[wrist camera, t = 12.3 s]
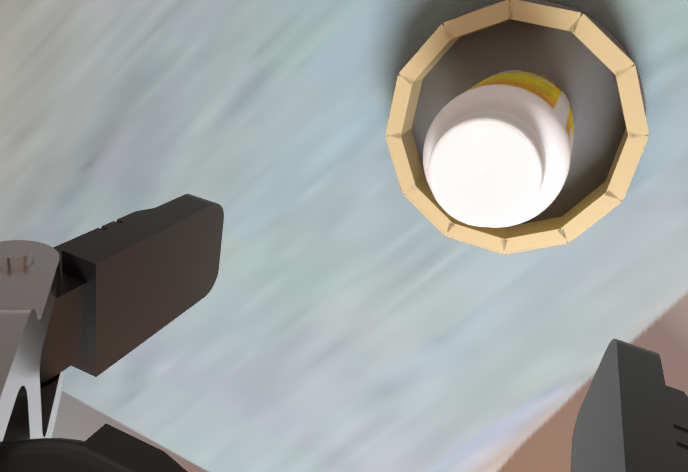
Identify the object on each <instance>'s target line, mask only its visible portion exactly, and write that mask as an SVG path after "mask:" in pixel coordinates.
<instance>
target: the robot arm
mask: <svg viewBox="0 0 688 472" xmlns="http://www.w3.org/2000/svg"><path fill="white" fill-rule="evenodd" d="M223 220H224V213H223V209H222V207H221V205H219V204H217V203H214V202H211V201H208V200H205V199H202V198H199V197H196V196H193V195H190V194H185V195H183V196H181V197H178V198H176V199H174V200H172V201H170V202H167V203H165V204H163V205H161V206H158V207H156V208H152V209H147V210H141V211H136V212H133V213H131V214H129V215H126V216H124V217H122V218H120V219H117V222H114V221H113V222H111V223H108V224H106V225H104V226H102V228H101V229H100V228H97V229H95V230H92V231H90V232H88V233H86V234H83V235H81V236H79V237H76V238H74V239H72V240H70V241H67V242H65V243H63V244H61V245H58V246H56V247H54V248H53V247H51V246H49V245H46V244H44V243H40V242H35V241H27V240H11V241H2V242H0V472H187V471H186V470H185V469H183V468H182V467H181V466H180V465H179V464H178V463H177V462H176V461H174V460H173V459H172V458H171V457H170V456H169V455H167V454H166V453H165V452H164V451H162V450H160V449H158V448H155V447H154V446H151V445H149V444H147V443H145V442H143V441H141V440H139V439H137V438H135V437H133V436H131V435H129V434H127V433H125V432H122V431H120V430H118V429H116V428H114V427H112V426H110V425H108V424H105V425H104V426H103V427H101V428H100V429H99V430H98V431H97V432H95V433H94V434H93V435H92V436H91V437H90V438H88V439H87V440H86V441H81V440H73V439H63V438H52V434H53V429H54V425H55V420H56V415H57V411H58V406H59V401H60V397H61V393H62V388H63V370H65V369H66V368H68V367H69V366H73V367H76V368H78V369H80V370H82V371H84V372H86V373H89V374H91V375H93V376H95V377H97V376H98V375H99V374H101V373H102V372H103V371H105V370H106V369H108V368H109V367H110V366H112V365H113V364H114V363H116V362H117V361H118V360H120V359H121V358H122V357H124V356H125V355H127V354H128V353H129V352H131V351H132V350H133V349H135V348H136V347H137V346H139V345H140V344H141V343H143V342H144V341H146V340H147V339H148V338H150V337H151V336H152V335H154V334H155V333H156V332H158V331H159V330H160V329H162V328H163V327H164V326H166V325H167V324H169V323H170V322H171V321H173V320H174V319H175V318H177V317H178V316H179V315H181V314H182V313H183V312H185V311H186V310H188V309H189V308H190V307H192V306H193V305H194V304H196V303H197V302H198V301H200V300H201V299H202V298H204V297H205V296H206V295H207V294H208V293H209V292H210V290H211V289H212V287H213V285H214V283H215V281H216V278H217V275H218V270H219V260H220V250H221V240H222V230H223ZM571 472H688V397H687V395H686V394H685V393H684V392H683V391H680V390H677V389H674V388H671V387H668V386H666V385H665V380H664V375H663V370H662V365H661V359H660V356H659V354H658V353H656V352H653V351H650V350H647V349H644V348H641V347H638V346H635V345H632V344H629V343H626V342H623V341H620V340H617V339H613V340H612V341H611V342H610V344H609V345H608V347H607V349H606V351H605V354H604V356H603V358H602V361H601V363H600V365H599V367H598V370H597V372H596V374H595V376H594V379H593V381H592V383H591V386H590V388H589V390H588V392H587V395H586V397H585V399H584V401H583V404H582V406H581V409H580V411H579V414H578V417H577V420H576V424H575V428H574V432H573V438H572V454H571Z"/></svg>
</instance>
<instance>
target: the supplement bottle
mask: <svg viewBox="0 0 688 472" xmlns="http://www.w3.org/2000/svg"><path fill="white" fill-rule="evenodd" d="M573 138H574V115H573V110H572V108H571V105H570V102H569V100H568V98H567V97H566V95H565V93H564V92H563V91H562V90H561V89H560V87H559V86H558V85H556V84H555V83H554V82H553V81H551V80H550V79H548V78H547V77H545V76H543V75H540V74H538V73H535V72H532V71H527V70H510V71H504V72H500V73H497V74H495V75H492V76H490V77H488V78H486V79H485V80H483V81H481V82H480V83H478V84H476V85H475V86H473V87H471V88H470V89H468V90H467V91H465V92H463V93H462V94H460V95H458V96H457V97H455V98H454V99H453V100H451V101H450V102H449V103H448V104H447V105H446V106H445V107H444V108H443V109H442V110H441V111H440V112H439V113H438V114H437V116H436V117H435V119H434V120H433V122H432V124H431V126H430V128H429V130H428V132H427V135H426V138H425V142H424V148H423V167H424V172H425V176H426V179H427V182H428V184H429V186H430V189H431V191H432V193H433V195H434V197H435V199H436V201H437V202H438V203H439V205H440V206H441V207H442V208H443V209H444V210H445V211H446V212H447V213H448V214H449V215H451V216H452V217H454V218H455V219H457V220H459V221H461V222H463V223H466V224H468V225H473V226H478V227H491V228H499V227H508V226H513V225H517V224H520V223H523V222H526V221H528V220H530V219H532V218H534V217H535V216H537V215H538V214H540V213H541V212H542V211H544V210H545V209H546V208H547V207H548V206H549V205H550V204H551V203H552V202H553V201H554V200H555V198H556V197H557V195H558V194H559V192H560V191H561V189H562V187H563V185H564V183H565V180H566V178H567V175H568V171H569V167H570V161H571V153H572V146H573Z"/></svg>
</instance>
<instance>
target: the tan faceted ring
mask: <svg viewBox="0 0 688 472" xmlns="http://www.w3.org/2000/svg"><path fill="white" fill-rule="evenodd" d="M510 70H527V71H532V72H535V73H538V74H540V75H543V76H545V77H547V78H548V79H550V80H551V81H553V82H554V83H555V84H556V85H558V86H559V87H560V89H561V90H562V91H563V92H564V93H565V95H566V97H567V98H568V100H569V102H570V105H571V108H572V110H573V115H574V138H573V146H572V153H571V161H570V167H569V171H568V175H567V178H566V180H565V183H564V185H563V187H562V189H561V191H560V192H559V194H558V195H557V197H556V198H555V200H554V201H553V202H552V203H551V204H550V205H549V206H548V207H547V208H546V209H545V210H544V211H542V212H541V213H540V214H538V215H537V216H535V217H534V218H532V219H530V220H528V221H526V222H523V223H520V224H517V225H513V226H508V227H499V228H491V227H478V226H473V225H468V224H466V223H463V222H461V221H459V220H457V219H455V218H454V217H452V216H451V215H449V214H448V213H447V212H446V211H445V210H444V209H443V208H442V207H441V206H440V205H439V203H438V202H437V201H436V199H435V197H434V195H433V193H432V191H431V189H430V186H429V184H428V182H427V179H426V176H425V172H424V167H423V148H424V142H425V138H426V135H427V132H428V130H429V128H430V126H431V124H432V122H433V120H434V119H435V117H436V116H437V114H438V113H439V112H440V111H441V110H442V109H443V108H444V107H445V106H446V105H447V104H448V103H449V102H450V101H451V100H453V99H454V98H455V97H457V96H458V95H460V94H462V93H463V92H465V91H467V90H468V89H470V88H471V87H473V86H475V85H476V84H478V83H480V82H481V81H483V80H485V79H486V78H488V77H490V76H492V75H495V74H497V73H500V72H504V71H510ZM399 74H400V75H398V77H397V82H396V86H395V91H394V96H393V101H392V105H391V110H390V115H389V119H388V124H387V129H386V134H385V135H387V136H386V141H387V144H388V147H389V151H390V154H391V157H392V160H393V164H394V167H395V170H396V174H397V177H398V180H399V184H400V187H401V190H402V192H405V193H404V195H405V196H406V197H407V198H408V199H409V200H410V201H411V202H412V203H413V204H414V205H415V206H416V208H417V209H418V210H419V211H420V212H421V213H422V214H423V215H424V216H425V217H426V218H427V219H428V220H429V221H430V222H431V223H432V224H433V225H434V226H435V227H436V228H437V229H438V230H439V231H440V232H441V233H442V234H443V235H445V234H446V236H447V237H450V238H453V239H456V240H460V241H463V242H466V243H469V244H472V245H475V246H479V247H482V248H485V249H488V250H491V251H494V252H498V253H501V254H503V253H504V252H505V254H510V253H516V252H522V251H527V250H533V249H539V248H545V247H551V246H557V245H562V244H567V242H569V243H570V242H571V241H572V240H574V239H575V238H576V237H577V236H579V235H580V234H581V233H583V232H584V231H585V230H586V229H588V228H589V227H590V226H592V225H593V224H594V223H596V222H597V221H598V220H599V219H601V218H602V217H603V216H605V215H606V214H607V213H608V212H610V211H611V210H612V209H614V208H615V207H616V206H617V205H619V204H620V203H621V202H622V200H624V197H625V195H626V192H627V190H628V187H629V185H630V182H631V180H632V177H633V175H634V172H635V170H636V167H637V165H638V162H639V160H640V157H641V155H642V152H643V150H644V147H645V145H646V142H647V140H648V137H649V136H648V134H649V132H648V126H647V121H646V106H645V98H644V92H643V88H642V85H641V81H640V77H639V75H638V73H637V71H636V66H635V65H634V63H633V61H632V60H631V58H630V57H629V55H628V54H627V52H626V51H625V49H624V47H623V46H622V45H621V44H620V43H619V41H618V40H617V39H616V38H615V37H614V36H613V35H612V34H611V33H610V32H609V31H608V30H607V29H606V28H605V27H603V26H602V25H601V24H600V23H599V22H597V21H596V20H594V19H592V18H591V17H589V16H587V15H586V14H584V13H582V12H580V11H578V10H575V9H573V8H571V7H568V6H565V5H561V4H557V3H554V2H550V1H542V0H505V1H502V2H497V3H493V4H490V5H486V6H483V7H480V8H478V9H476V10H473V11H471V12H469V13H466V14H465V15H463V16H460V17H457V18H455V19H452V20H449V21H446V22H444V24H441V25H440V26H439V27H438V28H437V30H436V31H435V32H434V33H433V34H432V35H431V37H430V38H429V39H428V40H427V41H426V42H425V44H424V45H423V46H422V47H421V48H420V49H419V50H418V52H417V53H416V54H415V55H414V56H413V57H412V59H411V60H410V61H409V62H408V63H407V64H406V66H405V67H404V68H403V69H402V70H401V71H400V72H399Z"/></svg>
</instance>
